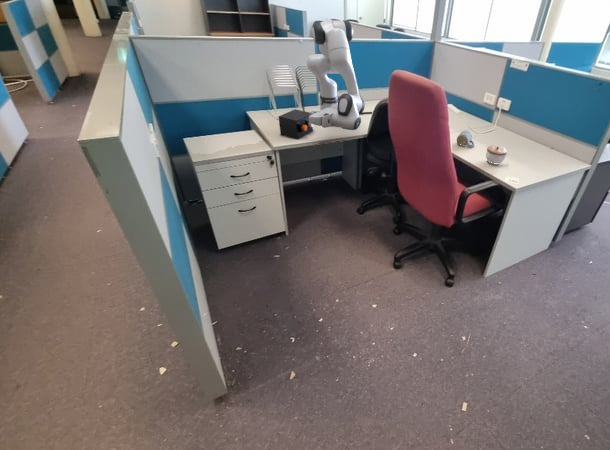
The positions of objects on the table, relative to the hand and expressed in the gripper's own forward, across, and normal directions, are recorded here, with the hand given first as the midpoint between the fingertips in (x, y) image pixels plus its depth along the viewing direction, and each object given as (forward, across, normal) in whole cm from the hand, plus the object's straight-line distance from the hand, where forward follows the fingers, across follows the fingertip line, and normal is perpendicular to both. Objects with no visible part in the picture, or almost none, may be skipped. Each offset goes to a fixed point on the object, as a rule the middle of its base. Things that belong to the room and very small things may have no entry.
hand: (311, 112), depth 185 cm
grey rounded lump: (-82, -42, +16) cm, 94 cm away
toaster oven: (+13, -4, +16) cm, 21 cm away
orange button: (+5, 0, +11) cm, 12 cm away
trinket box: (-102, -26, +15) cm, 106 cm away
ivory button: (+5, -7, +11) cm, 14 cm away
